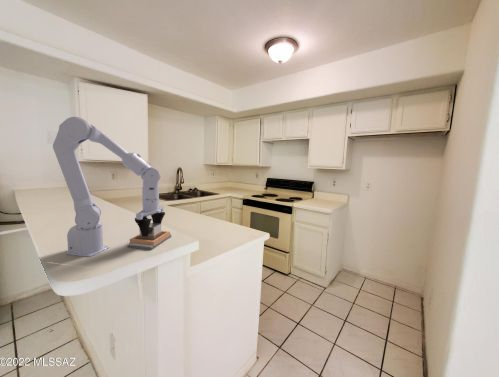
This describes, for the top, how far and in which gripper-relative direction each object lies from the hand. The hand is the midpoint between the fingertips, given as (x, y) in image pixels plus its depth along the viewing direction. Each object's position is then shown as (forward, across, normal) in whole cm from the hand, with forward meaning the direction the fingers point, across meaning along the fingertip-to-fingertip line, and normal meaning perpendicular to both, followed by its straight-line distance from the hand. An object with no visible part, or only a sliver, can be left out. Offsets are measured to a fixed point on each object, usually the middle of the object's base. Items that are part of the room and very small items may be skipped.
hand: (151, 232), depth 81 cm
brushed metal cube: (+3, 0, 0) cm, 3 cm away
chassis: (+4, 0, 0) cm, 4 cm away
